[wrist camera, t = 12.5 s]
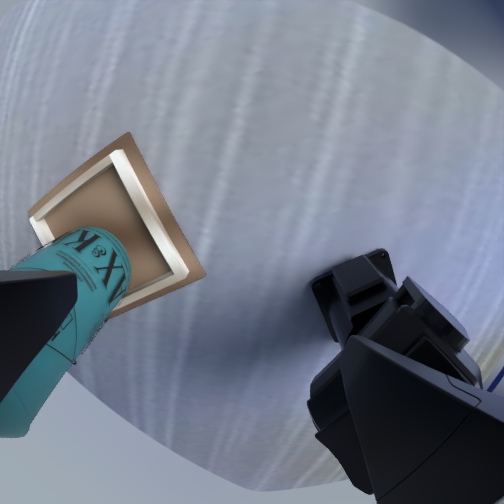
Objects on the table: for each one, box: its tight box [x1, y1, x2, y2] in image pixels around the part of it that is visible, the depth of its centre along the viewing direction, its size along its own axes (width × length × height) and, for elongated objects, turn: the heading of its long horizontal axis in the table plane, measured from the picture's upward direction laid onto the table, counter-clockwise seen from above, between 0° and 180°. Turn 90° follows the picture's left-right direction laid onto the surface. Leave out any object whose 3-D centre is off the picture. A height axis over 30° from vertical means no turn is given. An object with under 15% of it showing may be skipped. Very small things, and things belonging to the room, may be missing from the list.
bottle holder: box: [28, 132, 206, 321], centre depth 21 cm, size 12×12×2 cm
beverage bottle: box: [0, 226, 131, 438], centre depth 12 cm, size 6×7×20 cm
